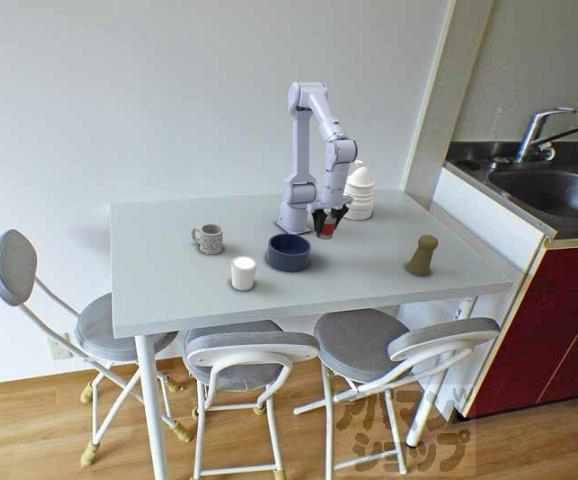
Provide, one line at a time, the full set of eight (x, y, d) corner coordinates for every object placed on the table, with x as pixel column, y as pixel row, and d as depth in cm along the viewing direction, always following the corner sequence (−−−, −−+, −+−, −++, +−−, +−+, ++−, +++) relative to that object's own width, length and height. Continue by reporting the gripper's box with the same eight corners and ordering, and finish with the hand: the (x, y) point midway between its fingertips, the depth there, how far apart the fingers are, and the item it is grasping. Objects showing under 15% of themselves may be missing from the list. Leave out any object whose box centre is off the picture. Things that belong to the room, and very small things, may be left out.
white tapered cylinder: (228, 276, 117) (230, 255, 112) (253, 276, 117) (255, 255, 113) (230, 291, 111) (232, 270, 107) (256, 291, 112) (258, 270, 108)
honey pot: (328, 212, 151) (339, 163, 140) (343, 200, 160) (354, 153, 149) (362, 223, 145) (376, 173, 134) (375, 210, 154) (389, 162, 143)
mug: (225, 246, 129) (226, 227, 125) (215, 256, 124) (216, 237, 120) (197, 237, 132) (197, 218, 128) (186, 247, 127) (186, 228, 123)
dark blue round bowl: (259, 254, 127) (260, 238, 123) (292, 245, 131) (295, 230, 128) (281, 275, 118) (283, 259, 115) (316, 265, 123) (319, 249, 120)
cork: (429, 277, 122) (443, 244, 115) (408, 273, 122) (420, 241, 116) (426, 265, 126) (439, 233, 120) (405, 262, 127) (417, 230, 120)
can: (311, 233, 122) (315, 213, 118) (325, 230, 124) (329, 210, 120) (322, 241, 118) (326, 220, 114) (336, 237, 120) (340, 217, 116)
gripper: (322, 196, 106) (312, 242, 114) (365, 187, 112) (353, 231, 120) (305, 185, 111) (297, 230, 119) (347, 177, 117) (337, 220, 125)
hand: (324, 230), depth 120 cm, fingers closed on can, 5 cm apart
